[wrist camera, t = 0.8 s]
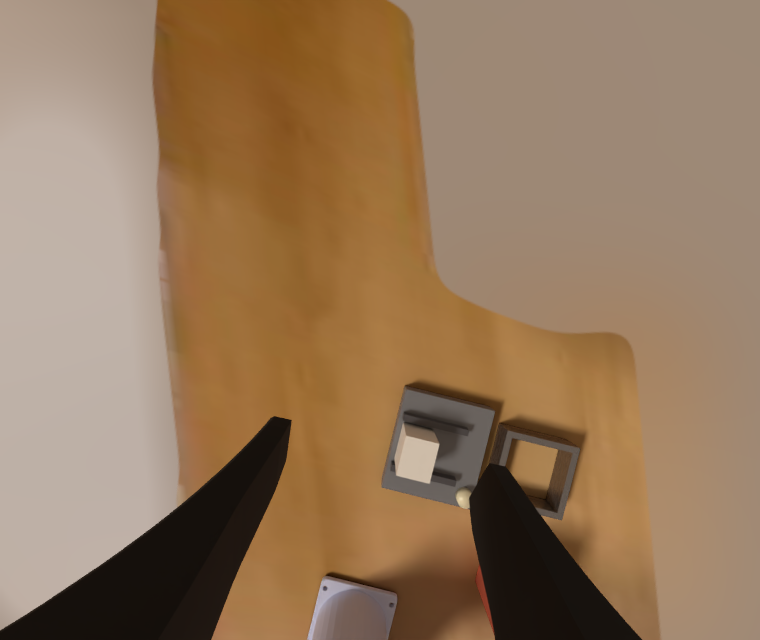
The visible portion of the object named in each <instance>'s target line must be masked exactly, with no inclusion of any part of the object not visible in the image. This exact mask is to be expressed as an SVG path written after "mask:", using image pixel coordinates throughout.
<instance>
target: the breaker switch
mask: <svg viewBox="0 0 760 640" xmlns="http://www.w3.org/2000/svg"><path fill="white" fill-rule="evenodd" d="M438 448H439V442H438V440H437V437H436V435H435V433H434V431H433V430H432V429H428V428H424V427H420V426H416V425H412V424H408V423H404V422H403V425H402V429H401V433H400V437H399V441H398V445H397V449H396V453H395V457H394V459H395V469H396V476H400V477H404V478H408V479H412V480H416V481H420V482H424V483H428V484H430V480H431V476H432V472H433V468H434V464H435V460H436V456H437V452H438Z"/></svg>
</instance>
